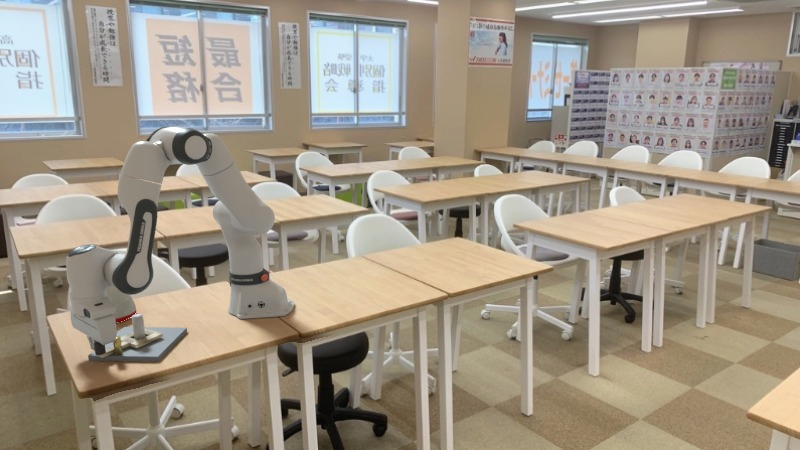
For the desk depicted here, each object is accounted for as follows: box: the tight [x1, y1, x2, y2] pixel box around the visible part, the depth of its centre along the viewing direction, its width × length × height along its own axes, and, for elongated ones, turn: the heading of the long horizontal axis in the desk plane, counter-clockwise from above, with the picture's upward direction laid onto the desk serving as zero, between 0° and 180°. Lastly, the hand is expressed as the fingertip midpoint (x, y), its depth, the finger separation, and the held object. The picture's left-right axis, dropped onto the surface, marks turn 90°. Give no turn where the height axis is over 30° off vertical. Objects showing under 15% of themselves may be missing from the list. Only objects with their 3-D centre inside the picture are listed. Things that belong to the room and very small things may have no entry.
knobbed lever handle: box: [94, 328, 163, 358], centre depth 160 cm, size 18×9×4 cm, turn 152°
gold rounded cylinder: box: [113, 336, 123, 356], centre depth 156 cm, size 2×2×5 cm
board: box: [87, 313, 188, 362], centre depth 164 cm, size 20×20×10 cm
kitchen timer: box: [106, 285, 137, 324], centre depth 186 cm, size 14×14×15 cm
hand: (95, 349), depth 156 cm, fingers closed
